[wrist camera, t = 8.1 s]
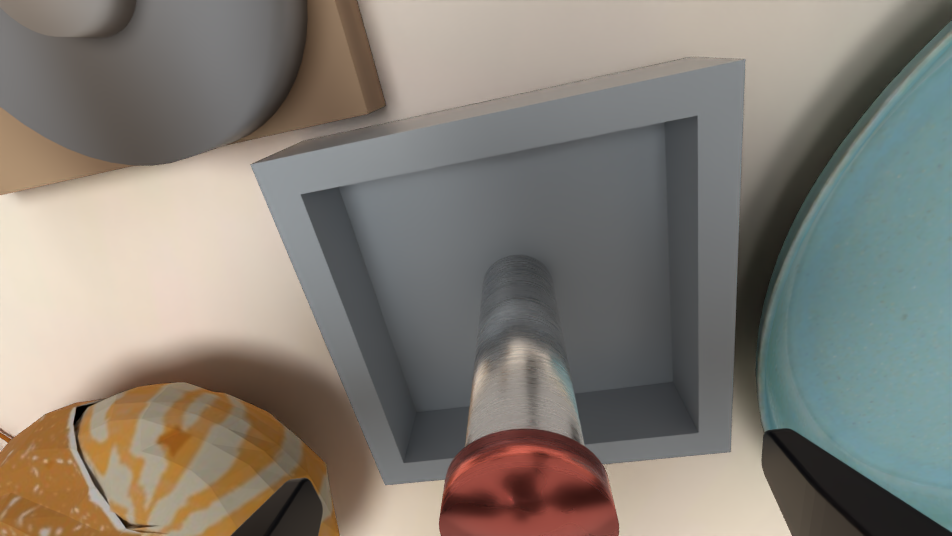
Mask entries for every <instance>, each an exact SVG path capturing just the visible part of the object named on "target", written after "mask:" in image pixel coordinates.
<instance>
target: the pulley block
mask: <svg viewBox="0 0 952 536" xmlns="http://www.w3.org/2000/svg"><path fill="white" fill-rule="evenodd" d="M384 106H386V104H385V100H384V96H383V93H382V89H381V86H380V82H379V79H378V75H377V71H376V68H375V64H374V61H373V57H372V53H371V50H370V46H369V43H368V39H367V35H366V32H365V28H364V25H363V21H362V17H361V14H360V10H359V7H358V3H357V0H0V195H3V194H8V193H13V192H17V191H22V190H26V189H31V188H35V187H40V186H44V185H49V184H53V183H58V182H62V181H67V180H71V179H76V178H80V177H85V176H89V175H94V174H98V173H103V172H107V171H112V170H116V169H121V168H125V167H130V166H134V165H159V164H166V163H172V162H176V161H179V160H182V159H186V158H189V157H192V156H195V155H198V154H201V153H204V152H207V151H210V150H213V149H216V148H218V147H221V146H225V145H229V144H234V143H238V142H243V141H247V140H252V139H256V138H261V137H265V136H270V135H275V134H279V133H284V132H288V131H293V130H297V129H302V128H306V127H311V126H315V125H320V124H324V123H329V122H333V121H338V120H342V119H347V118H351V117H356V116H360V115H365V114H369V113H371V112H373V111H375V110H377V109H380V108H382V107H384Z"/></svg>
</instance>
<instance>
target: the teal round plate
mask: <svg viewBox="0 0 952 536" xmlns="http://www.w3.org/2000/svg"><path fill="white" fill-rule="evenodd" d="M755 370H756V386H757V398H758V404H759V411H760V417H761V423H762V427H763V431H764V433H765V432H766V431H767V430H772V429H782V428H789V429H792V430H794V431H796V432H797V433H799V434H800V435H802V436H804V437H805V438H807V439H808V440H810V441H811V442H813V443H814V444H816V445H818V446H819V447H821V448H822V449H824V450H825V451H827V452H828V453H830V454H832V455H833V456H835V457H836V458H838V459H839V460H841V461H842V462H844V463H845V464H847V465H849V466H850V467H852V468H853V469H855V470H856V471H858V472H859V473H861V474H863V475H864V476H866V477H867V478H869V479H870V480H872V481H873V482H875V483H876V484H878V485H880V486H881V487H883V488H884V489H886V490H887V491H889V492H890V493H892V494H894V495H895V496H897V497H898V498H900V499H901V500H903V501H904V502H906V503H907V504H909V505H911V506H912V507H914V508H915V509H917V510H918V511H920V512H921V513H923V514H925V515H926V516H928V517H929V518H931V519H932V520H934V521H935V522H937V523H939V524H940V525H942V526H943V527H945V528H946V529H948V530H949V531H951V532H952V20H951V21H950V22H949V23H948V24H947V25H946V26H945V27H944V28H943V29H942V30H941V31H940V32H939V33H938V34H937V35H936V36H935V37H934V38H933V39H932V40H931V41H930V42H929V43H928V44H927V45H926V46H925V47H924V48H923V49H922V50H921V51H920V52H919V53H918V54H917V55H916V56H915V57H914V58H913V59H912V60H911V61H910V62H909V63H908V64H907V65H906V66H905V67H904V68H903V70H902V71H901V72H900V73H899V74H898V75H897V76H896V77H895V78H894V79H893V80H892V81H891V82H890V83H889V85H888V86H887V87H886V88H885V89H884V90H883V92H882V93H881V94H880V95H879V96H878V98H877V99H876V100H875V101H874V102H873V104H872V105H871V106H870V107H869V108H868V110H867V111H866V112H865V113H864V114H863V116H862V117H861V118H860V119H859V121H858V122H857V123H856V125H855V126H854V127H853V129H852V130H851V131H850V133H849V134H848V135H847V137H846V138H845V139H844V141H843V142H842V143H841V144H840V146H839V147H838V149H837V150H836V152H835V153H834V155H833V156H832V158H831V159H830V161H829V162H828V163H827V165H826V166H825V168H824V169H823V171H822V172H821V174H820V176H819V177H818V179H817V180H816V182H815V184H814V185H813V187H812V188H811V190H810V192H809V193H808V195H807V197H806V199H805V200H804V202H803V204H802V206H801V208H800V210H799V212H798V214H797V216H796V218H795V220H794V222H793V224H792V225H791V227H790V230H789V232H788V234H787V237H786V239H785V241H784V244H783V246H782V248H781V251H780V253H779V255H778V258H777V261H776V264H775V267H774V270H773V273H772V276H771V279H770V282H769V286H768V289H767V293H766V296H765V300H764V304H763V309H762V314H761V319H760V324H759V330H758V338H757V349H756V369H755Z"/></svg>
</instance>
